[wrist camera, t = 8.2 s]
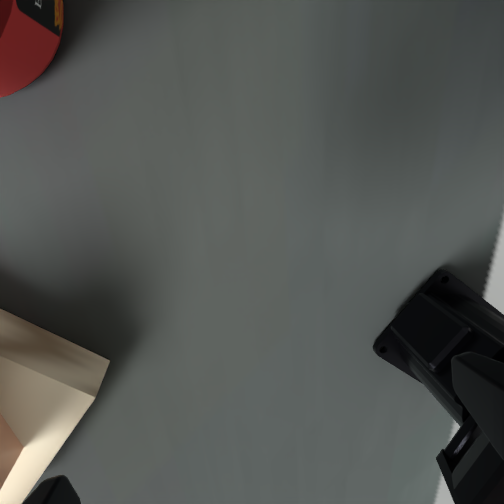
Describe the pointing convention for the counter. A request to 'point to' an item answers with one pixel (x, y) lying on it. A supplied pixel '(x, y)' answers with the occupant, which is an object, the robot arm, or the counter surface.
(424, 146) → the counter surface
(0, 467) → the block
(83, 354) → the base
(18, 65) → the canned food
